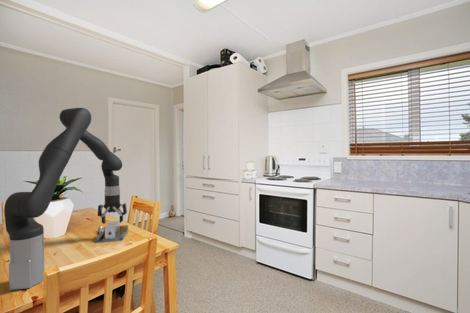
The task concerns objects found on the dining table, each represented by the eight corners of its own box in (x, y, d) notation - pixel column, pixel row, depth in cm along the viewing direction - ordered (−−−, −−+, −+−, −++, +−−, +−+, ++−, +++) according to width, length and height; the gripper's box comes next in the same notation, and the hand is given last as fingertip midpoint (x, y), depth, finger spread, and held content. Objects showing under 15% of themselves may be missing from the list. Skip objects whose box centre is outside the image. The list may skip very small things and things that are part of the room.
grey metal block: (115, 239, 123) (114, 226, 123) (104, 240, 122) (104, 227, 122) (120, 232, 133) (120, 220, 133) (110, 233, 132) (110, 221, 132)
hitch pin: (103, 234, 132) (103, 229, 132) (98, 235, 131) (98, 230, 131) (103, 230, 138) (102, 226, 138) (97, 231, 136) (97, 226, 136)
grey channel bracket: (122, 240, 122) (121, 233, 122) (95, 243, 119) (95, 235, 119) (128, 231, 136) (128, 224, 136) (104, 233, 133) (104, 226, 133)
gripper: (95, 195, 122) (96, 225, 122) (124, 194, 125) (124, 223, 125) (100, 193, 129) (100, 221, 129) (127, 192, 132) (127, 220, 132)
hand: (112, 222), depth 127 cm, fingers open, 8 cm apart
